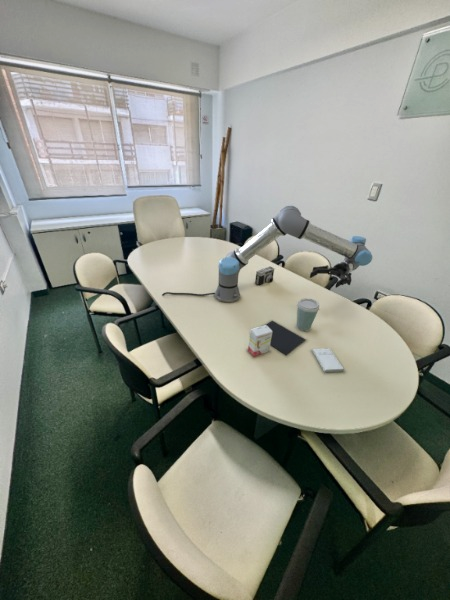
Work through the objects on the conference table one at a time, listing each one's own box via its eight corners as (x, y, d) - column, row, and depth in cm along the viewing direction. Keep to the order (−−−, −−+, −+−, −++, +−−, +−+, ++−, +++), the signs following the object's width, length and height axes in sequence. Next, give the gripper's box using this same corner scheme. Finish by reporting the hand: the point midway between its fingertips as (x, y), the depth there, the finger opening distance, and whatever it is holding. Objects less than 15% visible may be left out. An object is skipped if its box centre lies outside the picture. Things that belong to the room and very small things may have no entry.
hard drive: (324, 372, 99) (312, 351, 110) (343, 371, 100) (329, 350, 110) (325, 369, 98) (313, 348, 109) (344, 368, 99) (330, 347, 109)
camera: (263, 288, 160) (265, 274, 155) (254, 283, 165) (255, 270, 160) (277, 282, 168) (279, 269, 162) (268, 278, 173) (270, 265, 168)
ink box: (253, 357, 105) (256, 336, 99) (247, 350, 109) (249, 329, 103) (269, 351, 108) (273, 330, 102) (263, 344, 112) (266, 324, 106)
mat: (252, 333, 119) (252, 333, 119) (272, 321, 128) (272, 320, 128) (286, 355, 107) (286, 354, 106) (305, 340, 116) (305, 339, 116)
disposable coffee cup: (302, 336, 119) (308, 310, 111) (287, 324, 127) (292, 299, 119) (317, 330, 123) (325, 305, 115) (303, 319, 131) (308, 295, 123)
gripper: (364, 283, 125) (346, 296, 112) (319, 268, 140) (299, 278, 128) (368, 269, 121) (351, 282, 109) (322, 255, 137) (302, 264, 124)
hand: (323, 280), depth 118 cm, fingers open, 13 cm apart
